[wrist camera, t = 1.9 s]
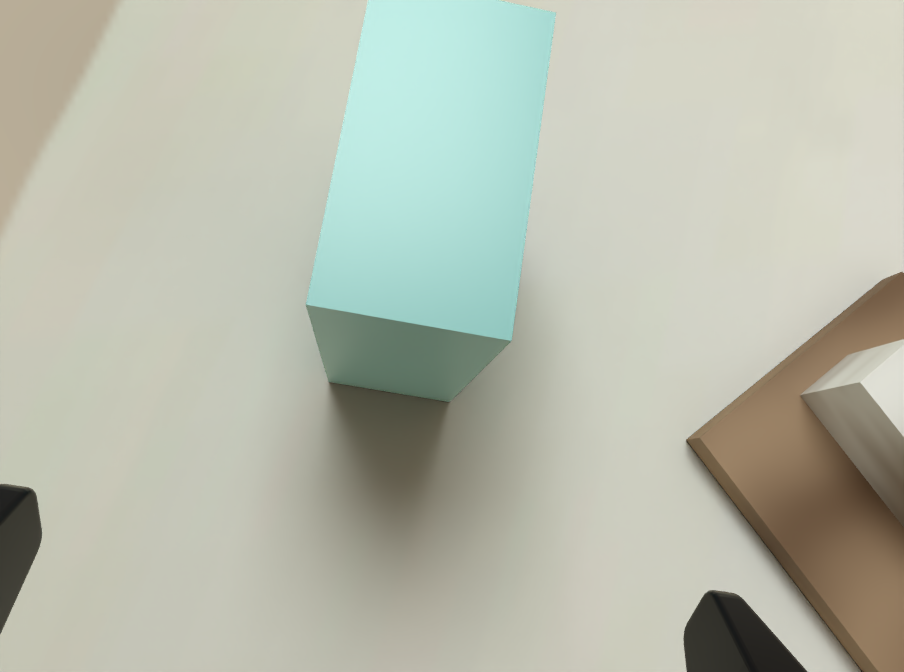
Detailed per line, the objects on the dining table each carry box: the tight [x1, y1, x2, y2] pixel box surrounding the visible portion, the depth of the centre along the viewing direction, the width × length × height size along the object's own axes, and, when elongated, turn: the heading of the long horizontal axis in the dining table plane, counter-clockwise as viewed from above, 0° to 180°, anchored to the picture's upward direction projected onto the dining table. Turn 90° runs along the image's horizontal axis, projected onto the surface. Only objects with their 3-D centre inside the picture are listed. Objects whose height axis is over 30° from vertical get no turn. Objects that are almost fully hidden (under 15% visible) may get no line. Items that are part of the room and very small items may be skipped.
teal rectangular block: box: [306, 0, 556, 402], centre depth 20 cm, size 7×4×10 cm, turn 170°
